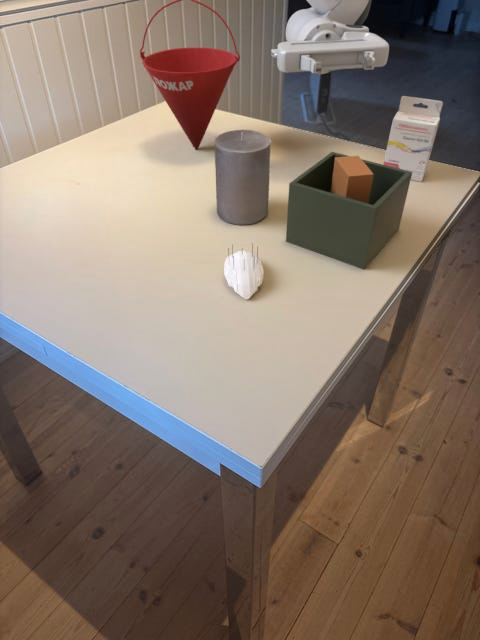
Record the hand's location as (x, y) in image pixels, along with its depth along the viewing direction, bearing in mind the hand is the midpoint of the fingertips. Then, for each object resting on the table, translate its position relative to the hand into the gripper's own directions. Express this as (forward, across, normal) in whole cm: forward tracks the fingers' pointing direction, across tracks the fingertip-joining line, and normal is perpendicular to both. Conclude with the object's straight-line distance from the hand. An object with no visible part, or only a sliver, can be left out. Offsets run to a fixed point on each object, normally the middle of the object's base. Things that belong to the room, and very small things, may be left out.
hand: (344, 66), depth 83 cm
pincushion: (+26, -22, +23) cm, 41 cm away
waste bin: (+17, -3, +23) cm, 29 cm away
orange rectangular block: (+17, -3, +22) cm, 28 cm away
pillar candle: (+6, -19, +23) cm, 30 cm away
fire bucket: (-25, -25, +23) cm, 42 cm away
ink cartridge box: (-4, +17, +23) cm, 29 cm away
